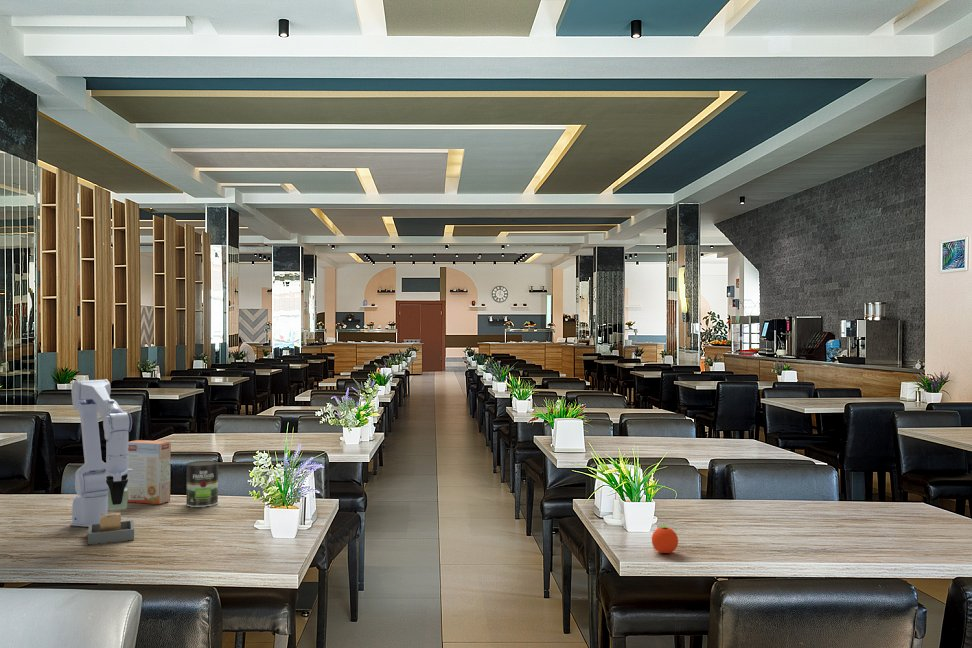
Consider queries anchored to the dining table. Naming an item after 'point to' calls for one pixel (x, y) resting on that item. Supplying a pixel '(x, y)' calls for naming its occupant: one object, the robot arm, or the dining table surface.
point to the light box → (118, 506)
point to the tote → (111, 533)
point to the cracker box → (149, 471)
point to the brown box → (110, 522)
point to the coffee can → (202, 483)
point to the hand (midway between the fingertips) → (116, 502)
